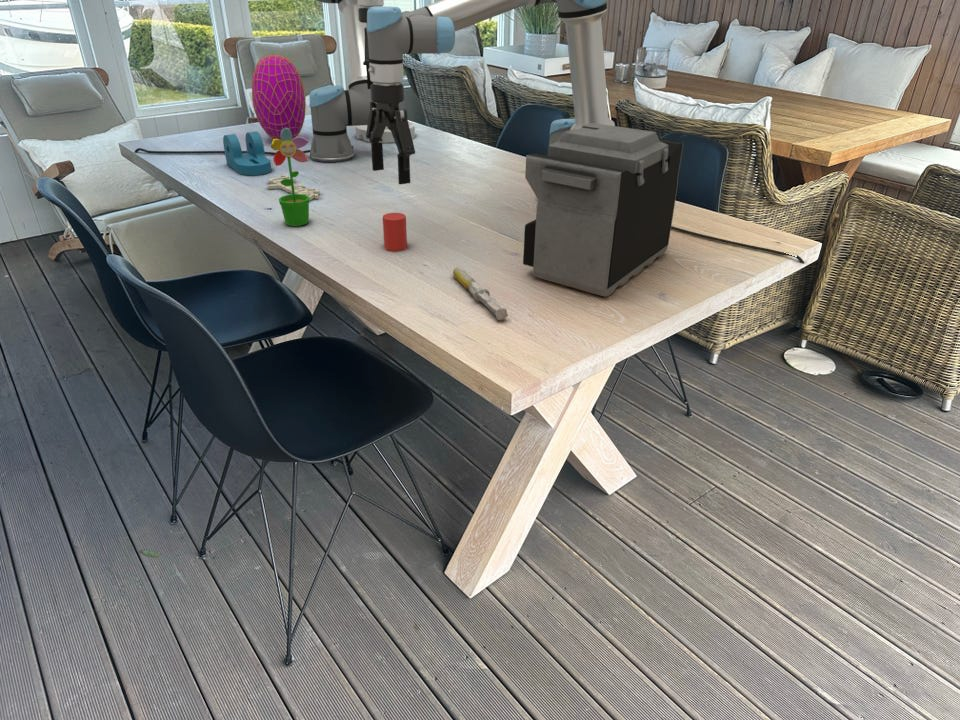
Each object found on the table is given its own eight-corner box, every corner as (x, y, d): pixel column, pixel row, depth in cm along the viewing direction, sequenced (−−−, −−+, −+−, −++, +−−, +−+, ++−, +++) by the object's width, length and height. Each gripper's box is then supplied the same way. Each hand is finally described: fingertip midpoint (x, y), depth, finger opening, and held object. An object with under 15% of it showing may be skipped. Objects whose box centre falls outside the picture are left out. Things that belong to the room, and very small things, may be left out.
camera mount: (227, 164, 233) (221, 132, 227) (257, 160, 238) (252, 129, 233) (244, 176, 220) (239, 143, 215) (276, 172, 225) (271, 139, 220)
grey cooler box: (592, 232, 179) (603, 112, 164) (672, 251, 168) (693, 125, 153) (515, 277, 153) (520, 140, 138) (603, 303, 142) (620, 157, 127)
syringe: (449, 274, 155) (449, 263, 153) (465, 272, 156) (464, 260, 154) (490, 323, 135) (491, 310, 133) (508, 319, 136) (508, 307, 134)
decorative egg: (293, 132, 276) (283, 50, 261) (319, 140, 264) (310, 56, 249) (249, 139, 265) (236, 54, 250) (273, 148, 253) (261, 60, 238)
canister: (383, 243, 171) (381, 213, 167) (405, 242, 172) (404, 211, 168) (385, 251, 167) (383, 220, 163) (408, 250, 168) (407, 219, 164)
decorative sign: (256, 179, 214) (285, 174, 220) (256, 182, 215) (285, 177, 220) (297, 199, 197) (327, 193, 203) (297, 203, 198) (328, 196, 203)
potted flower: (284, 229, 179) (270, 130, 166) (277, 220, 185) (263, 124, 172) (319, 224, 183) (308, 127, 170) (311, 215, 188) (300, 121, 176)
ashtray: (362, 128, 283) (361, 118, 281) (418, 129, 282) (417, 119, 280) (351, 142, 263) (350, 131, 261) (411, 143, 262) (411, 132, 260)
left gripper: (377, 10, 188) (382, 92, 199) (389, 4, 209) (393, 79, 220) (350, 9, 188) (356, 91, 199) (365, 4, 210) (370, 78, 220)
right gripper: (348, 76, 162) (354, 166, 173) (398, 92, 145) (401, 191, 155) (376, 74, 166) (381, 163, 177) (429, 90, 148) (430, 187, 159)
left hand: (375, 85), depth 210 cm, fingers open, 13 cm apart
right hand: (390, 176), depth 166 cm, fingers open, 13 cm apart
